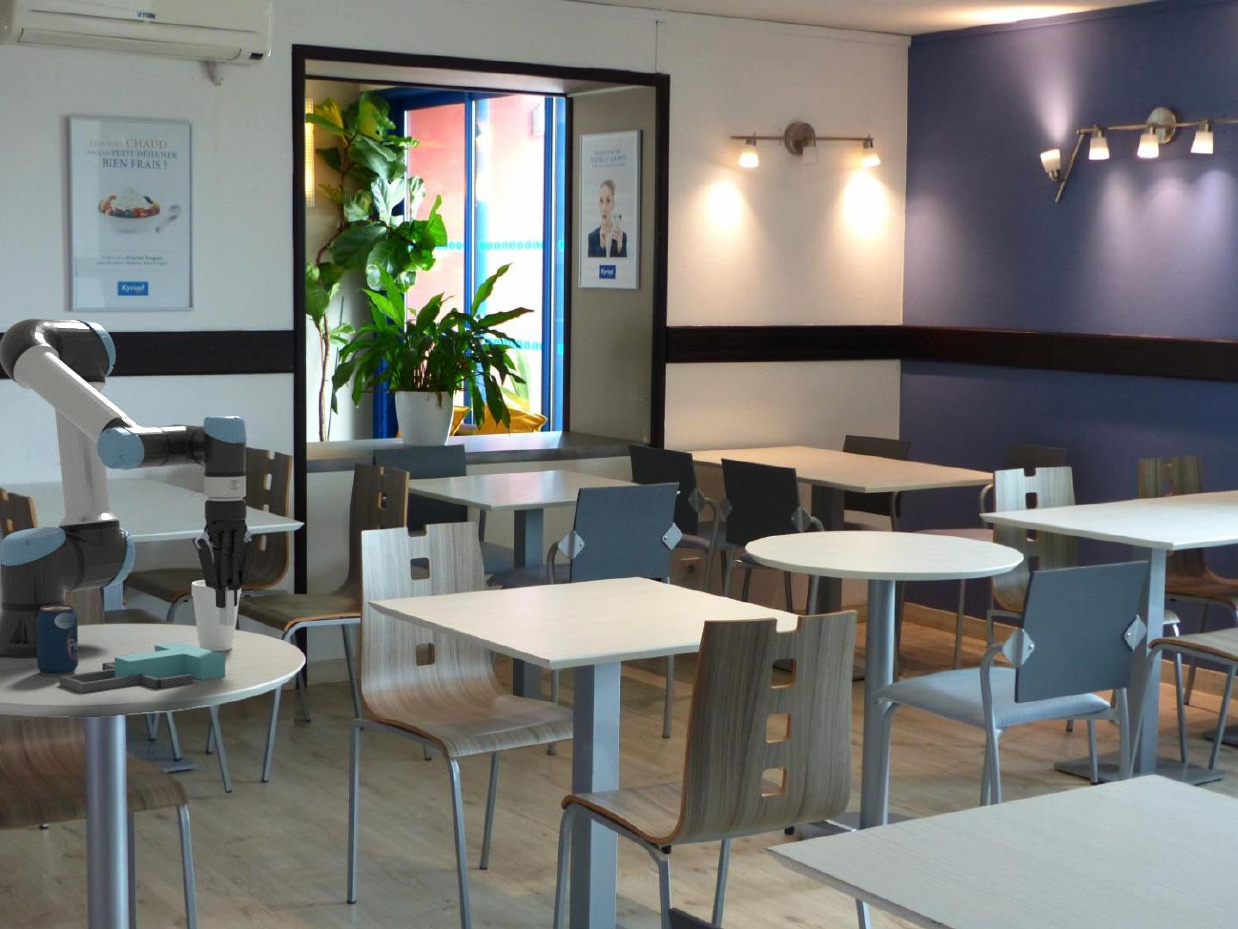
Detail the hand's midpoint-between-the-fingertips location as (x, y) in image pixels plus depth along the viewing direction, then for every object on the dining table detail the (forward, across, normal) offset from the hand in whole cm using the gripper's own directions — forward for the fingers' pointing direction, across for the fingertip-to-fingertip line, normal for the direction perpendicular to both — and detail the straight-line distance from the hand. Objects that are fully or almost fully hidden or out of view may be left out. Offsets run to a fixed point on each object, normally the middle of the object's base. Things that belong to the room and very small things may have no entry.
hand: (226, 624), depth 288 cm
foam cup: (+8, +8, +17) cm, 20 cm away
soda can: (+8, -26, +15) cm, 31 cm away
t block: (+8, -13, +1) cm, 15 cm away
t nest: (+8, -21, +1) cm, 23 cm away
